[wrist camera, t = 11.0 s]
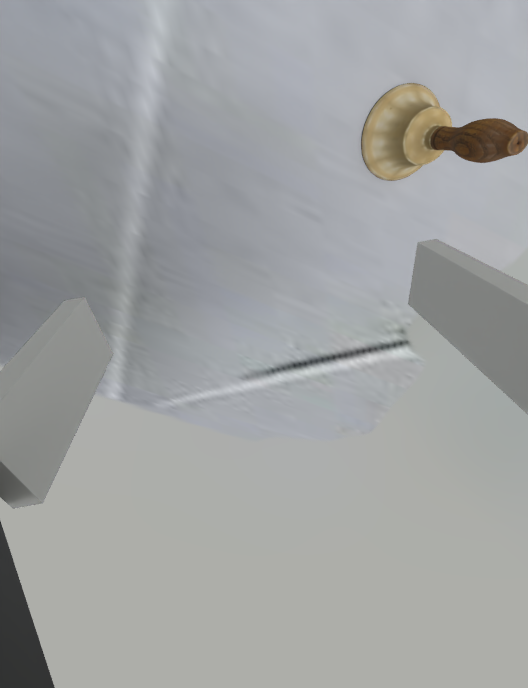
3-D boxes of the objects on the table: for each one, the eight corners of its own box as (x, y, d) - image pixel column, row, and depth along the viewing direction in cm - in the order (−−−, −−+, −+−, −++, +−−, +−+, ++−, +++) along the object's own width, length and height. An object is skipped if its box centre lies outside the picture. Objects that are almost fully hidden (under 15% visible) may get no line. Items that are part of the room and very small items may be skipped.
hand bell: (407, 192, 36) (517, 229, 23) (346, 161, 33) (429, 182, 20) (456, 108, 32) (624, 93, 19) (391, 65, 29) (532, 13, 16)
